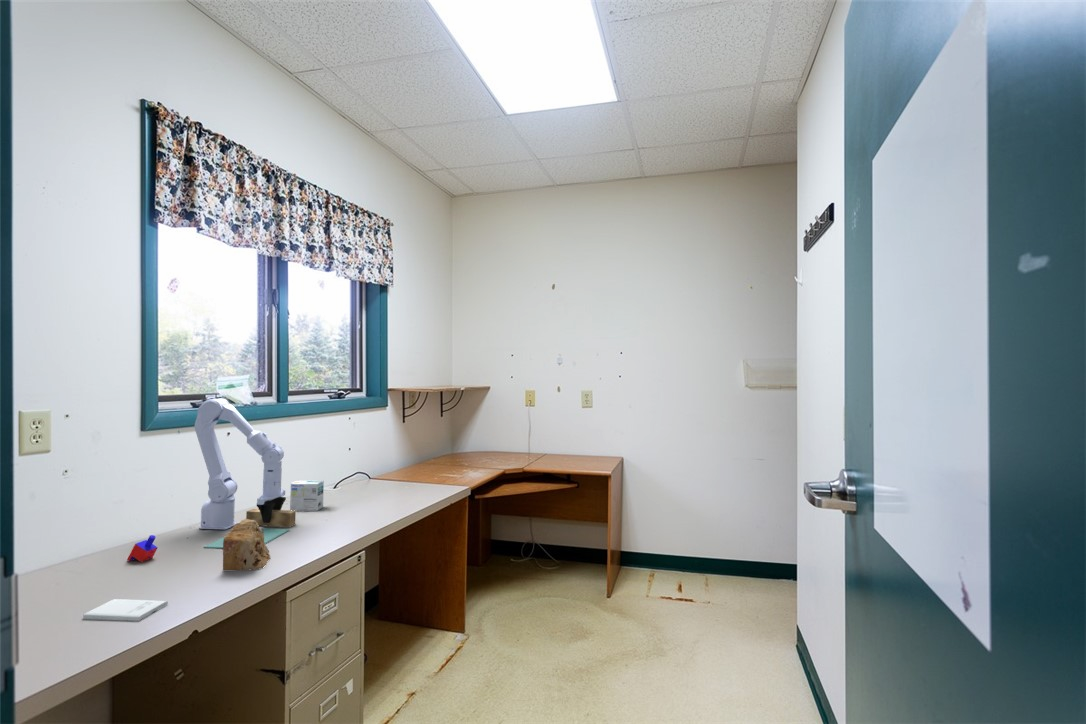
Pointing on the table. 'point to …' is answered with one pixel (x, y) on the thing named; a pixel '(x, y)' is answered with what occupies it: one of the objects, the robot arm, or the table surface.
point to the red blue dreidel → (143, 550)
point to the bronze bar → (273, 517)
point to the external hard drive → (125, 610)
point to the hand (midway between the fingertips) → (270, 520)
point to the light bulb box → (306, 495)
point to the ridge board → (266, 537)
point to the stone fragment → (245, 547)
